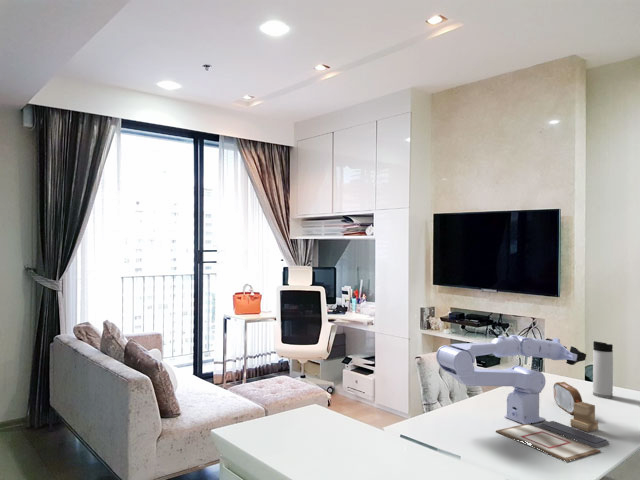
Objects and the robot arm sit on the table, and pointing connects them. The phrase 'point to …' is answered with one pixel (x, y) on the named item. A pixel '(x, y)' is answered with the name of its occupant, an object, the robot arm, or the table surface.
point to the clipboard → (549, 442)
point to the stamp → (584, 417)
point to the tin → (566, 396)
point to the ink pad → (575, 434)
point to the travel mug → (602, 369)
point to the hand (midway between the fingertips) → (574, 353)
